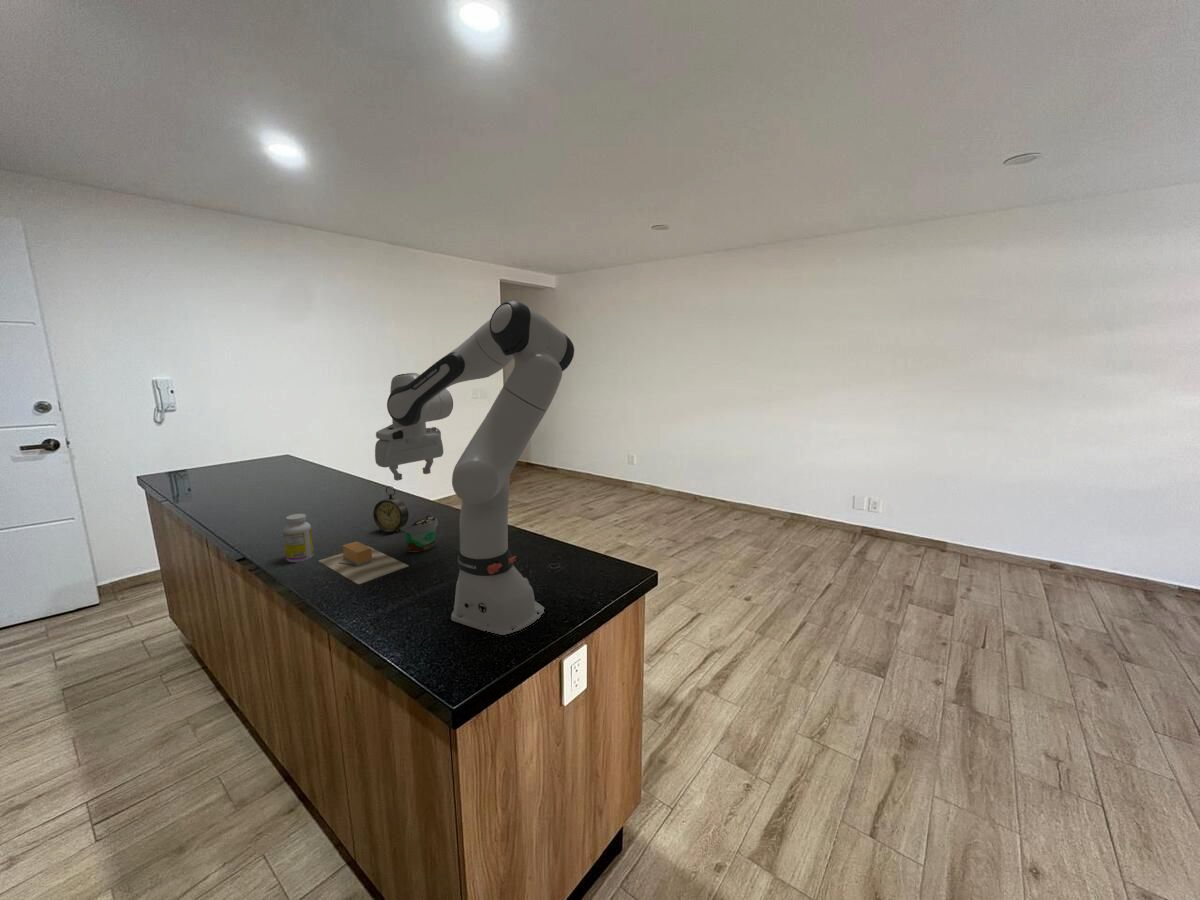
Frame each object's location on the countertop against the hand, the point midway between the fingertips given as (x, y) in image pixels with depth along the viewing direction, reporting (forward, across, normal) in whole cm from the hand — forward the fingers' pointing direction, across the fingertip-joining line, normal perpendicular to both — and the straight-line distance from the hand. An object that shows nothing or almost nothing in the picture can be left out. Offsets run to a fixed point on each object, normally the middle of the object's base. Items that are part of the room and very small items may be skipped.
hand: (412, 476), depth 133 cm
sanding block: (+22, +15, -6) cm, 28 cm away
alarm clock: (+24, -5, -21) cm, 33 cm away
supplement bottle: (+24, +23, -23) cm, 40 cm away
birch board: (+24, +15, -3) cm, 28 cm away
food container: (+24, -3, 0) cm, 25 cm away
